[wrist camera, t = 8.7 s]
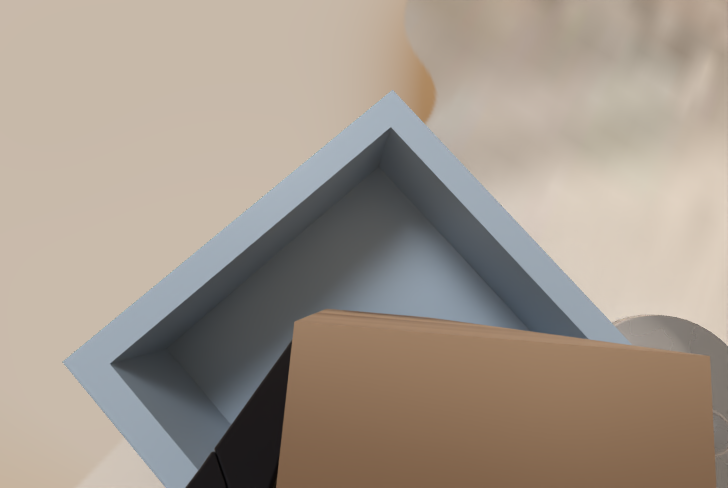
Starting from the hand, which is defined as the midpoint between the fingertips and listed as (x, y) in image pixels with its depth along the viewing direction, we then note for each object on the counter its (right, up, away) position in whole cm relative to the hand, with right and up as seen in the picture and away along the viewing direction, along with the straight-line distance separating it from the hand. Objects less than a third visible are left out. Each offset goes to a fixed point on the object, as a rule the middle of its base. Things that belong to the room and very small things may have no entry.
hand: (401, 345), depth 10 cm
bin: (-1, -2, +8) cm, 9 cm away
